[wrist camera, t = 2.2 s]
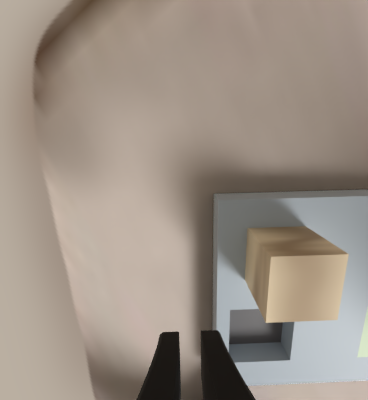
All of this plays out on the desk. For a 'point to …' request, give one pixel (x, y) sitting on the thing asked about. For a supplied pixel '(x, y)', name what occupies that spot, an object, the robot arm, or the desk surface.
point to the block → (294, 274)
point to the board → (292, 331)
